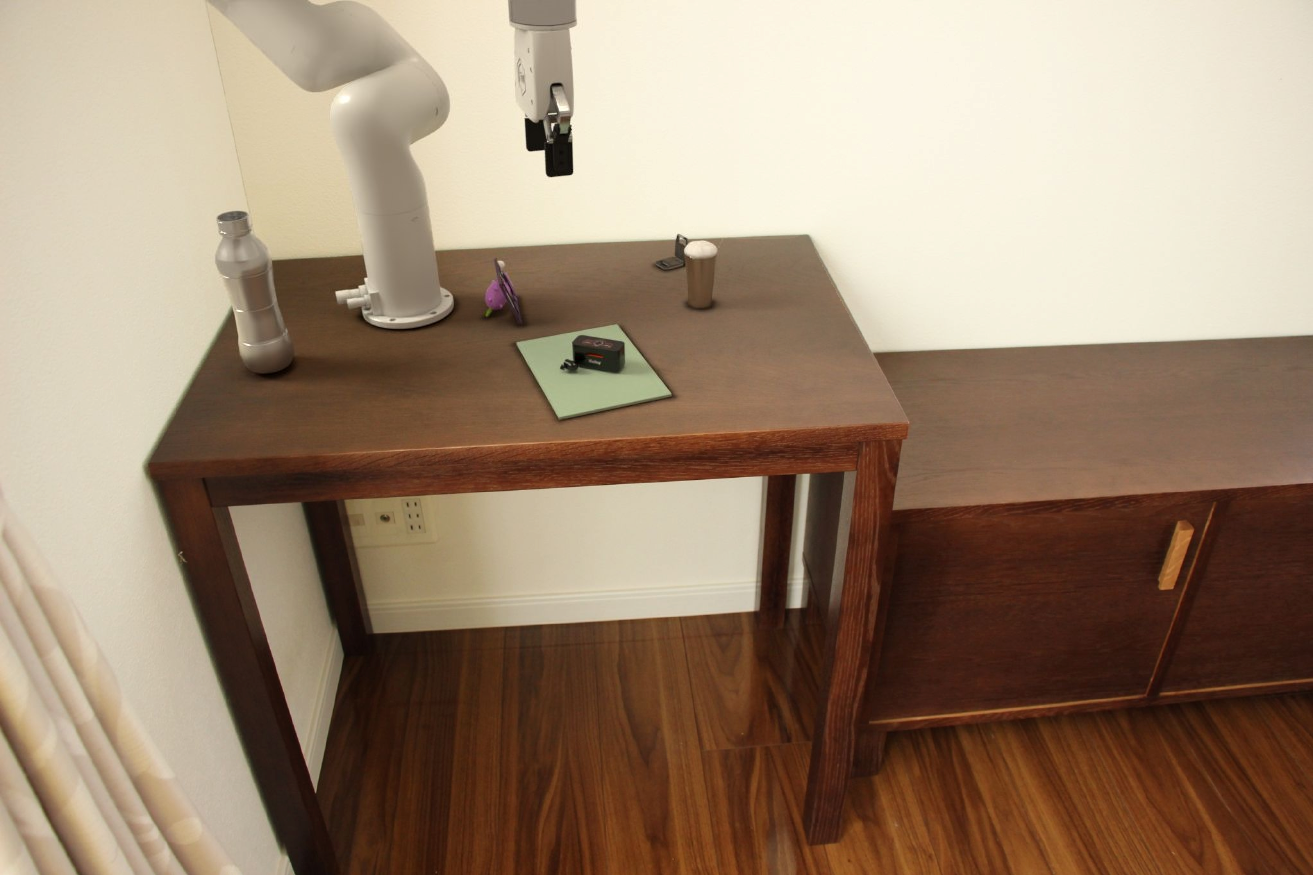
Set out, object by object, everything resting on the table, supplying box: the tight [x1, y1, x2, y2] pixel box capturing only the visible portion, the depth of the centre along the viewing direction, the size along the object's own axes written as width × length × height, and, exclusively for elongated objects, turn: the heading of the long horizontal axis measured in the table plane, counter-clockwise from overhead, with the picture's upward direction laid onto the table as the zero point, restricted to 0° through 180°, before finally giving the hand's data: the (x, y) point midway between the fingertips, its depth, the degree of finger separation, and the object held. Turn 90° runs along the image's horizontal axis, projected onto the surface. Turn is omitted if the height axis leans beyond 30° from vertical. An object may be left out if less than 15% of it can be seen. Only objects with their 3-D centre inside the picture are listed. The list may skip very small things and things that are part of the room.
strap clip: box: [654, 233, 690, 270], centre depth 151 cm, size 8×3×4 cm, turn 123°
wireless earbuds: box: [560, 335, 625, 373], centre depth 122 cm, size 5×7×3 cm, turn 70°
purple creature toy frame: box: [484, 257, 523, 326], centre depth 136 cm, size 7×5×9 cm
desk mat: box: [516, 323, 673, 421], centre depth 124 cm, size 14×20×1 cm
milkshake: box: [684, 238, 724, 309], centre depth 137 cm, size 4×5×10 cm
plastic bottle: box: [214, 210, 295, 375], centre depth 120 cm, size 6×7×20 cm
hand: (549, 162), depth 119 cm, fingers open, 9 cm apart
